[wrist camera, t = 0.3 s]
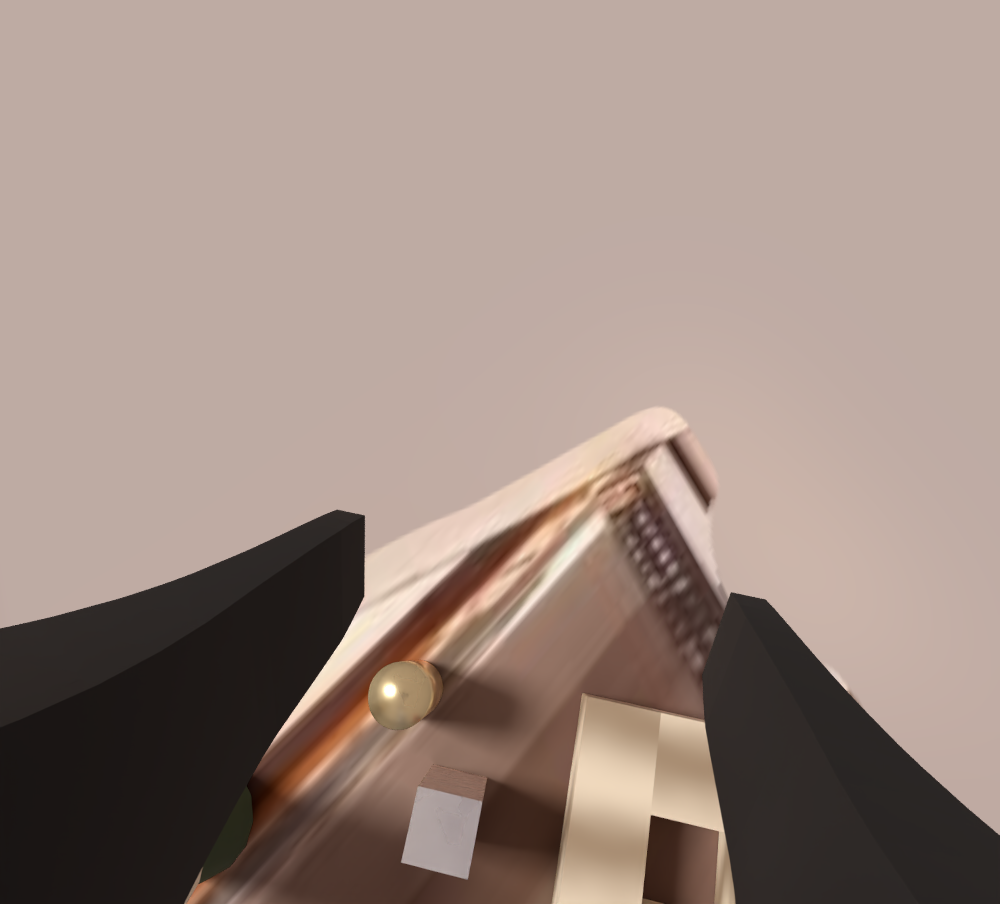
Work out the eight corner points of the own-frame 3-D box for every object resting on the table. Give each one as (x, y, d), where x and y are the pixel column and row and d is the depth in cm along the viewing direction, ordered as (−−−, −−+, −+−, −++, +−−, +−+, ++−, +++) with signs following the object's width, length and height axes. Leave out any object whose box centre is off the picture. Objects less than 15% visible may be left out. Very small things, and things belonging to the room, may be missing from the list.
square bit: (475, 841, 35) (467, 879, 29) (419, 827, 35) (401, 862, 29) (487, 777, 36) (482, 801, 30) (432, 764, 36) (418, 786, 30)
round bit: (435, 723, 37) (421, 736, 31) (383, 710, 37) (360, 722, 32) (448, 666, 38) (437, 669, 32) (397, 654, 38) (377, 655, 33)
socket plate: (787, 1054, 31) (815, 1096, 28) (539, 987, 32) (541, 1020, 29) (796, 740, 36) (820, 748, 33) (582, 692, 37) (588, 696, 34)
